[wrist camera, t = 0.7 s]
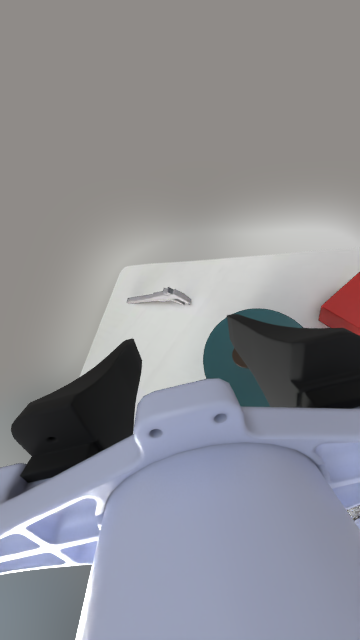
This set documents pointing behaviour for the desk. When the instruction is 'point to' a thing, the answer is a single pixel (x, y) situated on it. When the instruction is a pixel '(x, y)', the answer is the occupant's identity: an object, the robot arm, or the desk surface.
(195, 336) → the desk surface
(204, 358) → the lid
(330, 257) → the desk surface
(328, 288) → the desk surface
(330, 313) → the red block
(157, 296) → the caliper
